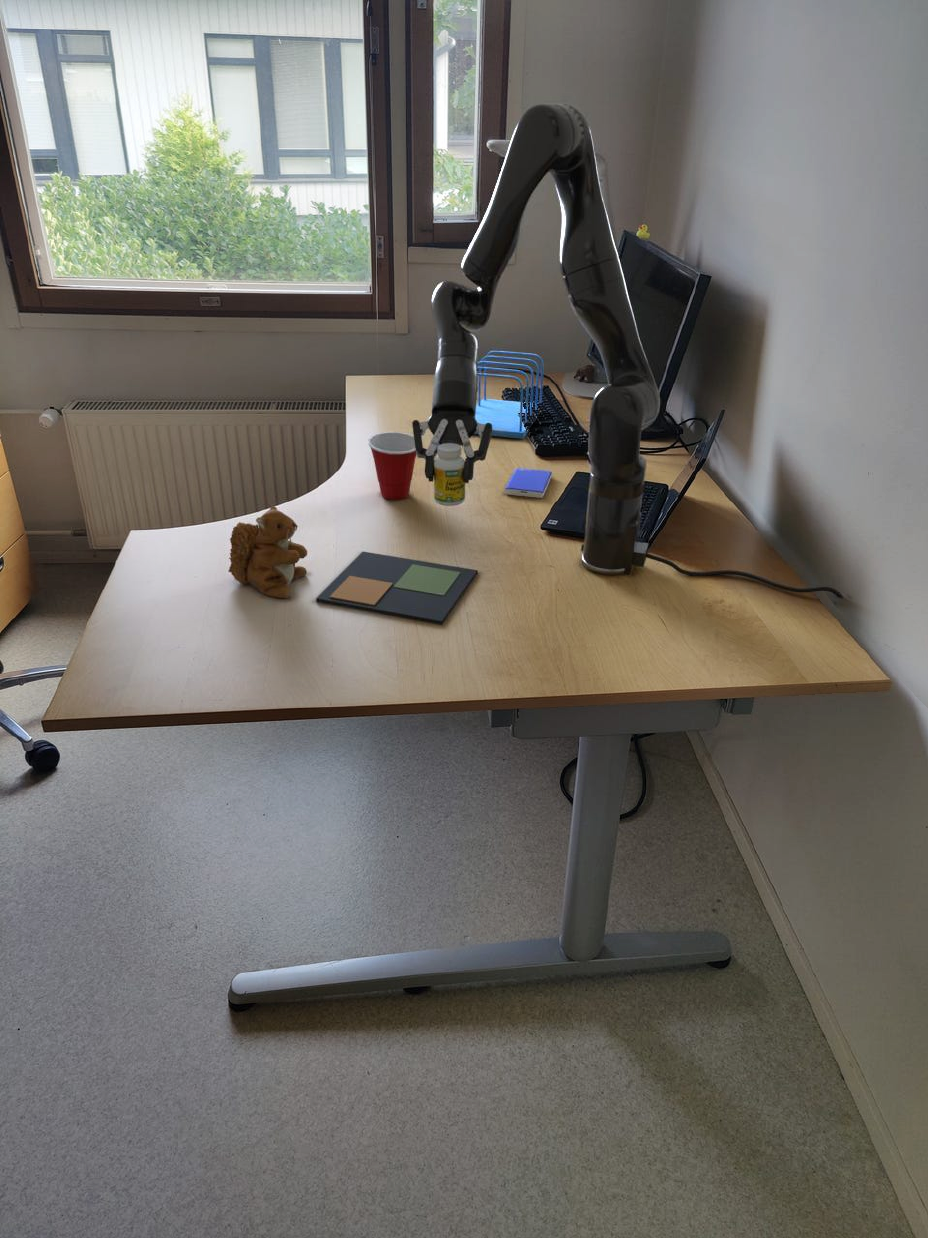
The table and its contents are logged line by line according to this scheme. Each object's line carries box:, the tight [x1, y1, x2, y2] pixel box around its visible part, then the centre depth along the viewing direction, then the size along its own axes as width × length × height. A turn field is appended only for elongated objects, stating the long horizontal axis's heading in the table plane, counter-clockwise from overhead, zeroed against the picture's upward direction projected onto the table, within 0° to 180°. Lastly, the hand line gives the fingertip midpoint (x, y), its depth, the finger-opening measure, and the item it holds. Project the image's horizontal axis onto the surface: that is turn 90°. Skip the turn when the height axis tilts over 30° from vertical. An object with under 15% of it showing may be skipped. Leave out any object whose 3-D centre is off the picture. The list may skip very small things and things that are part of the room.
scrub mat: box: [315, 551, 479, 625], centre depth 151 cm, size 22×19×1 cm
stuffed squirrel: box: [227, 505, 308, 599], centre depth 149 cm, size 10×14×13 cm
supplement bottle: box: [433, 443, 466, 507], centre depth 150 cm, size 5×5×10 cm
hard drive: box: [504, 467, 553, 499], centre depth 192 cm, size 2×8×12 cm
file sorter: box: [473, 350, 545, 440], centre depth 228 cm, size 25×17×15 cm
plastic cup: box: [367, 431, 417, 501], centre depth 184 cm, size 11×11×12 cm
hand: (448, 480), depth 149 cm, fingers closed on supplement bottle, 5 cm apart
